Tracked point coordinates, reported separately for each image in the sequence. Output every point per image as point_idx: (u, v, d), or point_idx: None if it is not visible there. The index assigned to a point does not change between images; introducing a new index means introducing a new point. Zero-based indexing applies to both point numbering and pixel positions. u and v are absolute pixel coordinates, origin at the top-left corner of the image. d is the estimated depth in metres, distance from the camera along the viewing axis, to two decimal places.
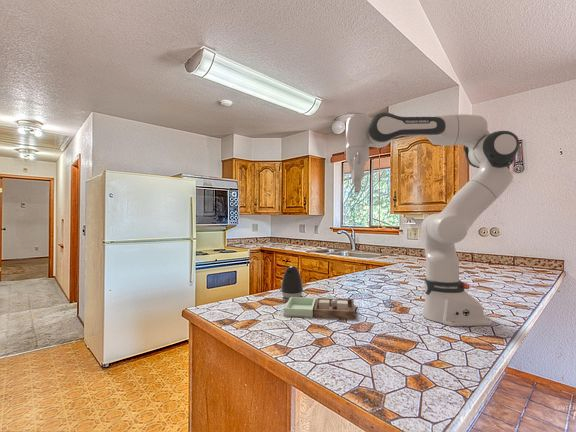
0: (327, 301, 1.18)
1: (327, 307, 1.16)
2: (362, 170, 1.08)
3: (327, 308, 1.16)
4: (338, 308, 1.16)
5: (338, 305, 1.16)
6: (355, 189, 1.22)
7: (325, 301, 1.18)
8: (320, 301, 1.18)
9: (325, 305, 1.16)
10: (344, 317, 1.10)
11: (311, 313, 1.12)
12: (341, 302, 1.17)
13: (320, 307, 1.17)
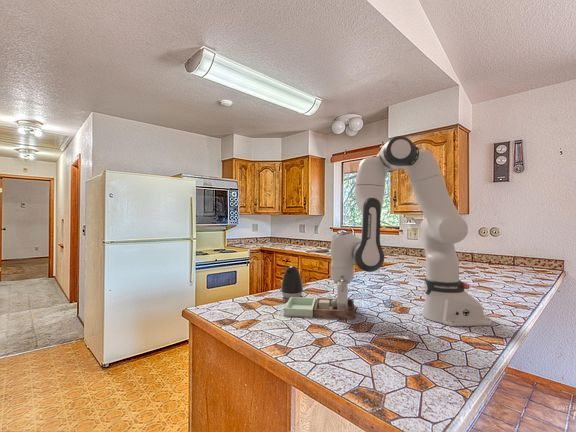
0: (327, 301, 1.18)
1: (327, 307, 1.16)
2: (346, 298, 1.07)
3: (327, 308, 1.16)
4: (338, 308, 1.16)
5: (338, 305, 1.16)
6: None
7: (325, 301, 1.18)
8: (320, 301, 1.18)
9: (325, 305, 1.16)
10: (344, 317, 1.10)
11: (311, 313, 1.12)
12: None
13: (320, 307, 1.17)
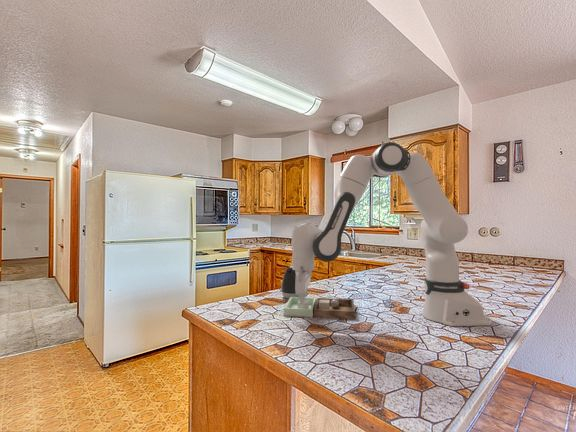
0: (327, 301, 1.18)
1: (327, 307, 1.16)
2: (303, 288, 1.08)
3: (327, 308, 1.16)
4: None
5: (299, 305, 1.16)
6: (303, 294, 1.22)
7: (325, 301, 1.18)
8: (320, 301, 1.18)
9: (325, 305, 1.16)
10: (344, 317, 1.10)
11: (311, 313, 1.12)
12: None
13: (320, 307, 1.17)
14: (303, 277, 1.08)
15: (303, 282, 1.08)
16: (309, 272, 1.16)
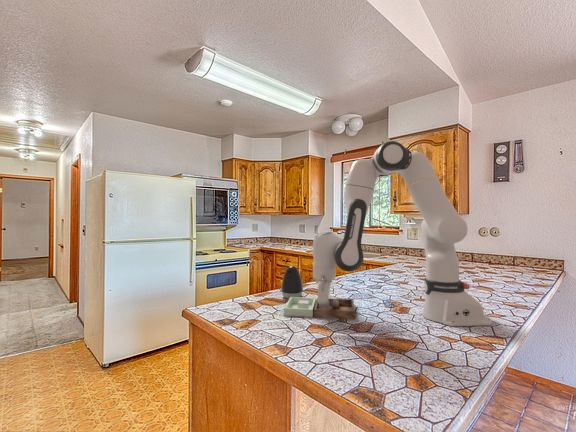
0: None
1: (327, 307, 1.16)
2: (326, 298, 1.08)
3: (327, 308, 1.16)
4: None
5: (299, 305, 1.16)
6: None
7: None
8: None
9: None
10: (344, 317, 1.10)
11: (311, 313, 1.12)
12: (302, 302, 1.17)
13: (320, 307, 1.17)
14: (326, 287, 1.09)
15: (326, 292, 1.09)
16: (330, 281, 1.16)
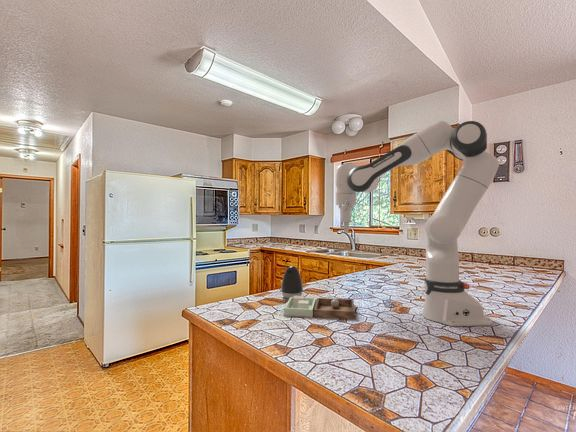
0: (301, 297, 1.24)
1: None
2: (349, 216, 1.22)
3: None
4: None
5: (299, 305, 1.16)
6: None
7: (299, 297, 1.24)
8: (294, 297, 1.24)
9: None
10: (344, 317, 1.10)
11: (311, 313, 1.12)
12: (302, 302, 1.17)
13: (294, 302, 1.23)
14: (349, 207, 1.23)
15: (349, 211, 1.23)
16: (352, 206, 1.30)
